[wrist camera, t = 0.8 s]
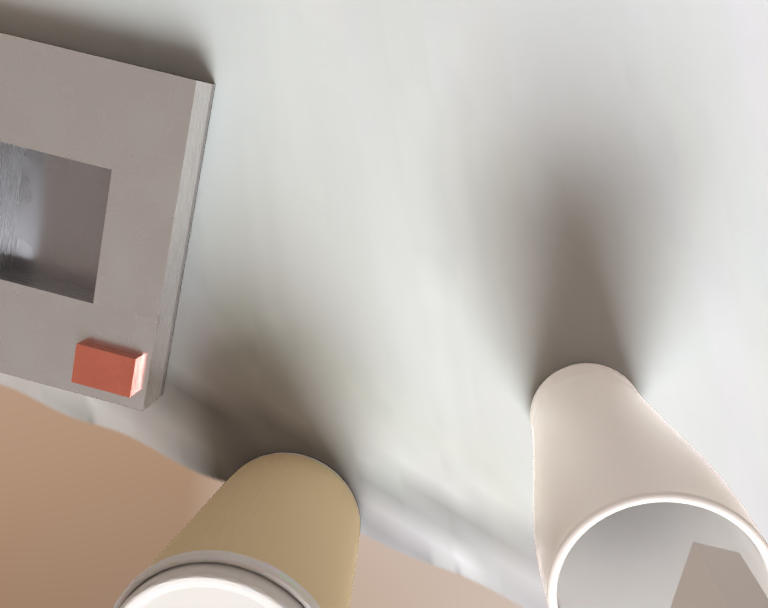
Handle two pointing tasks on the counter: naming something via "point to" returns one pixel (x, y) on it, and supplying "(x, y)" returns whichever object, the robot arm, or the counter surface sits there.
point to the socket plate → (94, 217)
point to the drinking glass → (623, 496)
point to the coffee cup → (261, 543)
